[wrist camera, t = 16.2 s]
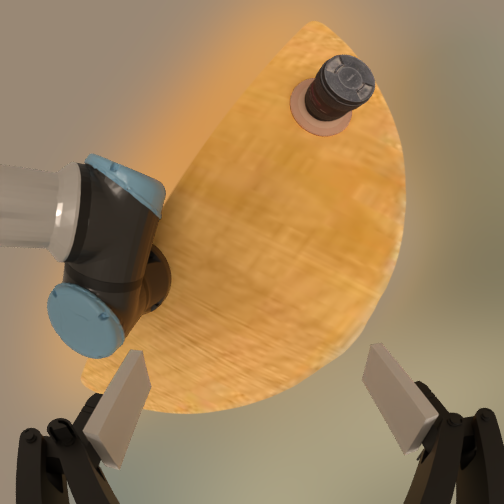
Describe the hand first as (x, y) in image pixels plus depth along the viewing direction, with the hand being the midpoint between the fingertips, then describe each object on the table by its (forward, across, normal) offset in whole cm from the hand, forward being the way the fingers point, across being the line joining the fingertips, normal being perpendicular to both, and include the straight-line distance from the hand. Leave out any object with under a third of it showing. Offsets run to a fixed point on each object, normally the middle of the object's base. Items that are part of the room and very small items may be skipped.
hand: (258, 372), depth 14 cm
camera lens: (+36, +14, +26) cm, 47 cm away
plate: (+37, +14, +26) cm, 47 cm away
